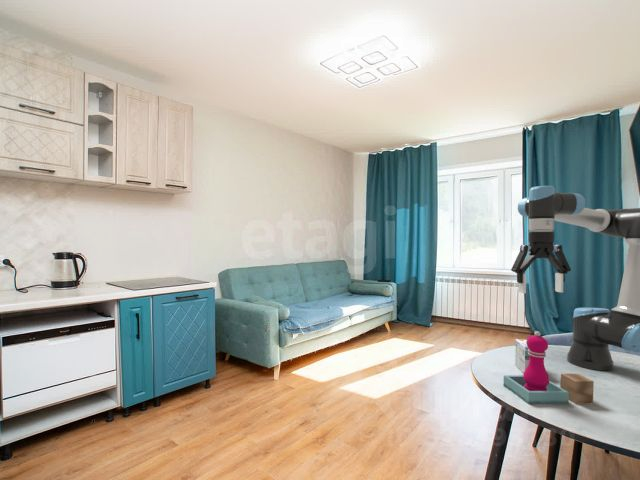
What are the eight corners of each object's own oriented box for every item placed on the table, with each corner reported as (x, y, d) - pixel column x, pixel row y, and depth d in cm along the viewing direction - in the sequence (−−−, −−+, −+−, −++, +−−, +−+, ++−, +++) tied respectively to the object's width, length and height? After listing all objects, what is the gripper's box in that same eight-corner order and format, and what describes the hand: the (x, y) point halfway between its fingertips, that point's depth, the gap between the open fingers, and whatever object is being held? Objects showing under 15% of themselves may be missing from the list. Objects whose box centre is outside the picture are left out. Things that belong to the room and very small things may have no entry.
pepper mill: (519, 391, 113) (521, 330, 113) (526, 385, 118) (528, 327, 118) (545, 399, 108) (547, 335, 108) (551, 392, 113) (553, 331, 113)
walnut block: (577, 394, 114) (578, 373, 114) (592, 403, 108) (593, 381, 108) (560, 394, 113) (560, 373, 113) (574, 403, 107) (575, 381, 107)
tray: (539, 385, 120) (539, 375, 120) (568, 403, 107) (568, 392, 107) (503, 385, 120) (503, 375, 119) (528, 403, 107) (528, 392, 107)
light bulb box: (544, 377, 128) (545, 348, 128) (524, 375, 129) (525, 346, 129) (532, 366, 138) (533, 339, 138) (514, 365, 140) (514, 338, 139)
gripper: (514, 231, 115) (513, 294, 115) (583, 230, 117) (583, 293, 117) (500, 231, 122) (500, 291, 123) (566, 231, 124) (565, 289, 125)
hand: (540, 292), depth 120 cm, fingers open, 13 cm apart
